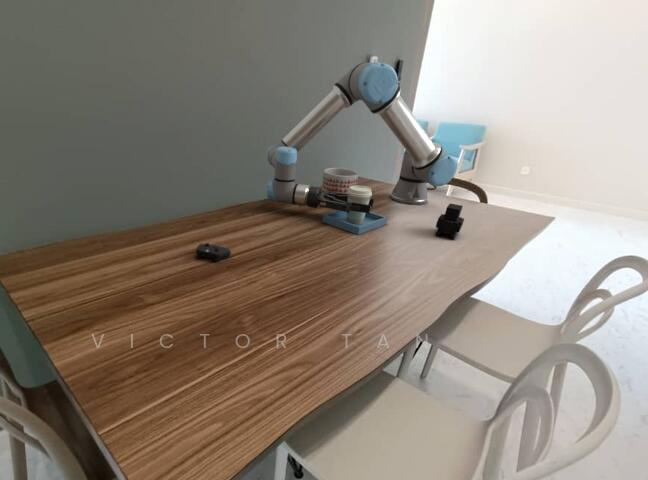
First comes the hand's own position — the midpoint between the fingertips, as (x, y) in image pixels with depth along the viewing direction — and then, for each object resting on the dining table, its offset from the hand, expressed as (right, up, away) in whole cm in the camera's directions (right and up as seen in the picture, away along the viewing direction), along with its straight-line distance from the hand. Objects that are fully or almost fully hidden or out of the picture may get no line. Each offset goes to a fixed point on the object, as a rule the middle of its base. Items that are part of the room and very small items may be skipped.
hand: (371, 206), depth 137 cm
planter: (-8, +7, +25) cm, 27 cm away
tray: (-5, -5, +5) cm, 9 cm away
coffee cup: (-5, -5, +5) cm, 8 cm away
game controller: (-52, -21, -26) cm, 62 cm away
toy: (+28, -9, +2) cm, 29 cm away
